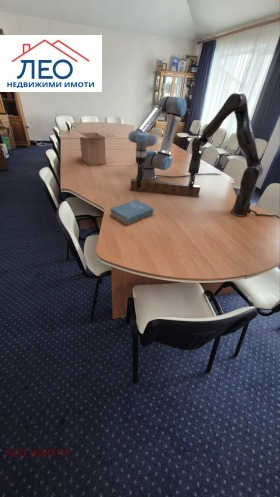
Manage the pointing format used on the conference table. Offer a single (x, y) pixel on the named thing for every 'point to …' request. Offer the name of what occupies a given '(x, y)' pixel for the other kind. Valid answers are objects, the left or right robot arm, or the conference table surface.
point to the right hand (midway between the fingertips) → (190, 187)
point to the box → (92, 146)
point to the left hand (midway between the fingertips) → (139, 184)
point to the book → (131, 211)
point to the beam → (165, 188)
